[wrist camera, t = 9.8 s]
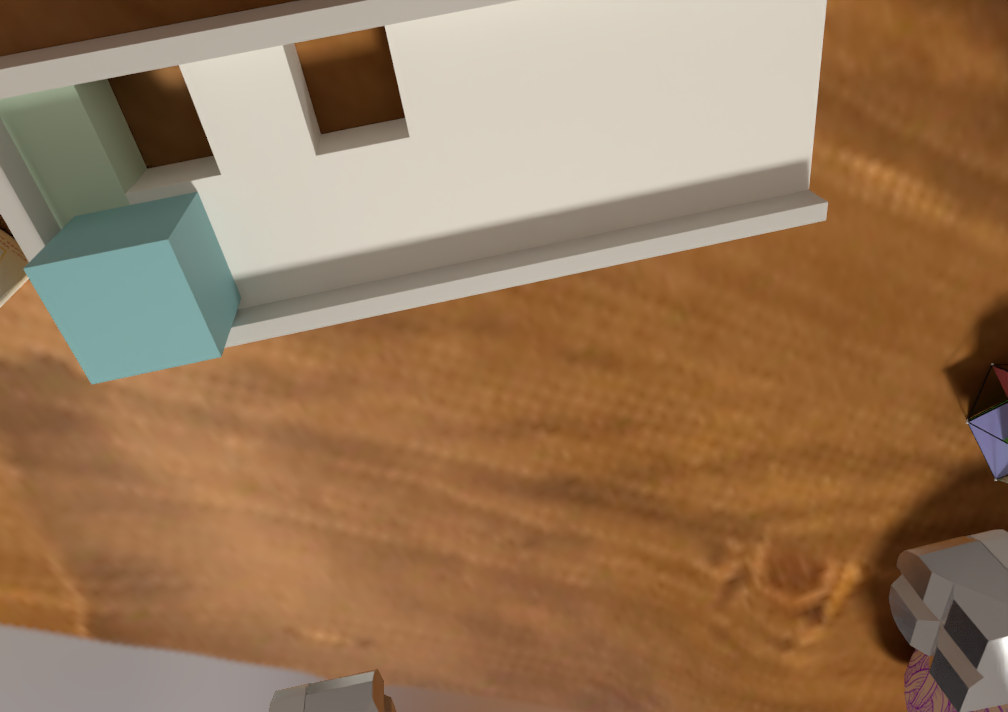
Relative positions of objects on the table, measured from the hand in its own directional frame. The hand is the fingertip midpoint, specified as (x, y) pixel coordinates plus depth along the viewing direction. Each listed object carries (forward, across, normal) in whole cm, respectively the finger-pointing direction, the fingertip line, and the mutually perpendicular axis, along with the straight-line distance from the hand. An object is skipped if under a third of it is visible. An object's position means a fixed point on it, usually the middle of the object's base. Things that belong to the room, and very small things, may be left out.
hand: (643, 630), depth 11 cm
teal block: (+20, +13, 0) cm, 24 cm away
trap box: (+23, +2, -2) cm, 23 cm away
